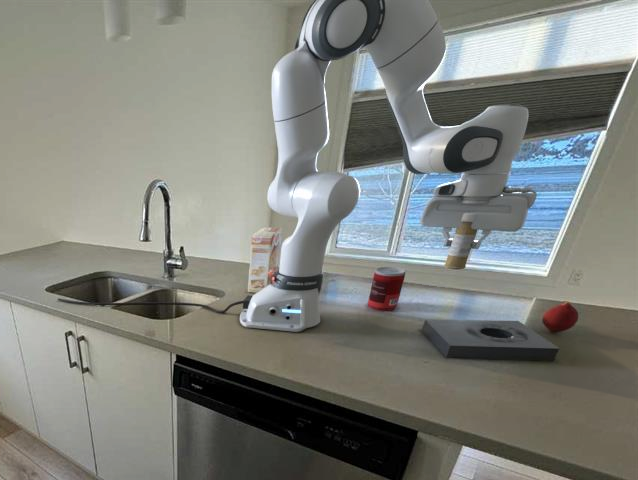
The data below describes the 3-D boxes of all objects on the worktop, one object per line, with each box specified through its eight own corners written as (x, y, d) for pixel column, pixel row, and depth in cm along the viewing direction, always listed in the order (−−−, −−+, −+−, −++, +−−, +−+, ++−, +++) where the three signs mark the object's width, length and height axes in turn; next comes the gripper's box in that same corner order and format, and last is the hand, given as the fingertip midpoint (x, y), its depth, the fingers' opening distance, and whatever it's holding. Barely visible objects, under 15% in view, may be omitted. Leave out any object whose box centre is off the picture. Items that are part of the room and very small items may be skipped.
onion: (564, 329, 100) (579, 298, 96) (574, 338, 95) (591, 306, 91) (533, 327, 102) (547, 296, 98) (542, 336, 97) (556, 304, 93)
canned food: (397, 303, 123) (406, 267, 117) (395, 312, 117) (405, 274, 112) (368, 301, 127) (376, 265, 121) (365, 309, 121) (374, 272, 116)
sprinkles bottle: (463, 266, 105) (482, 210, 99) (466, 270, 102) (486, 213, 95) (441, 265, 107) (459, 210, 101) (444, 269, 104) (462, 213, 97)
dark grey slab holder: (446, 357, 93) (450, 345, 91) (421, 330, 106) (424, 319, 104) (553, 361, 87) (559, 348, 86) (513, 331, 101) (518, 320, 99)
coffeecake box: (267, 294, 140) (272, 235, 130) (246, 292, 144) (250, 235, 134) (277, 282, 151) (282, 227, 141) (257, 280, 154) (262, 227, 145)
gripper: (542, 185, 90) (517, 249, 97) (435, 185, 104) (419, 241, 110) (537, 188, 86) (511, 254, 93) (427, 187, 100) (411, 245, 107)
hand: (460, 247), depth 102 cm, fingers closed on sprinkles bottle, 4 cm apart
